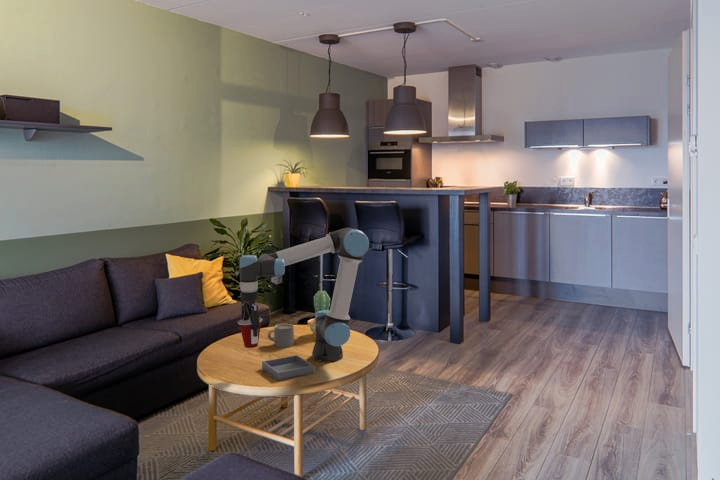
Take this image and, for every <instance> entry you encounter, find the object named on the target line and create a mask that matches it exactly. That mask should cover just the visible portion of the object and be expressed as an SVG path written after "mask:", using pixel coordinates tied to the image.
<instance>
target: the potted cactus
mask: <svg viewBox="0 0 720 480" xmlns="http://www.w3.org/2000/svg"><path fill="white" fill-rule="evenodd" d="M313 307H314V318H310V319H309V320H307V325H308V326H309V329H310V331H311V332H312V334H313V337H315V338H316V319H315V317H316V312H318V311H322V310H330V308H331V297H330V296H329V294H328V292H327V291H326V290H318V291H317V292H316V293H315V295H314V296H313Z"/></svg>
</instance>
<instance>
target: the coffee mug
mask: <svg viewBox="0 0 720 480" xmlns="http://www.w3.org/2000/svg"><path fill="white" fill-rule="evenodd" d="M272 333H273V334H274V335H273V337H271V334H272ZM267 337H268V340H270V341H272V342H274V346H275V347H277V348H283V349H286V348H291V347H293V346H295V325H294V324H291V323H279V324H275V325H274V328H272V329H271V328H270V329H269V330H268V332H267Z"/></svg>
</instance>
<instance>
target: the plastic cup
mask: <svg viewBox="0 0 720 480" xmlns="http://www.w3.org/2000/svg"><path fill="white" fill-rule="evenodd" d="M262 321H263V318H261V317H259V324H260V328H258V341H260V340H259V339H260V335H261V334H260V333H261V325H262ZM237 324H238V326H239V329H240V332H241V336H242V340H243V346H244V348H247V349H254V348H257V347H258V346H259V342H258V343H256V344H251V328H252V323H251V321H250V317H249V320H246V321H244V320H243V319H242V320H241V319H240V320H238V321H237Z"/></svg>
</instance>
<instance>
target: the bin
mask: <svg viewBox="0 0 720 480" xmlns="http://www.w3.org/2000/svg"><path fill="white" fill-rule="evenodd" d="M261 368H262V370H263V371H265V372H266V373H267V374H268V375H270V376H271V377H273V378H274V379H275V380H276V381H283V380H287V379H289V380H290V379H294V378H299V377H304V376H307V375H313V374H315V365H314V364H313V363H312V362H309V361H308V360H305V359H304V358H303V357H301V356H299V355H298V354H295V355H288V356H285V357H279V358H273V359H268V360H263V361H261Z"/></svg>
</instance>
